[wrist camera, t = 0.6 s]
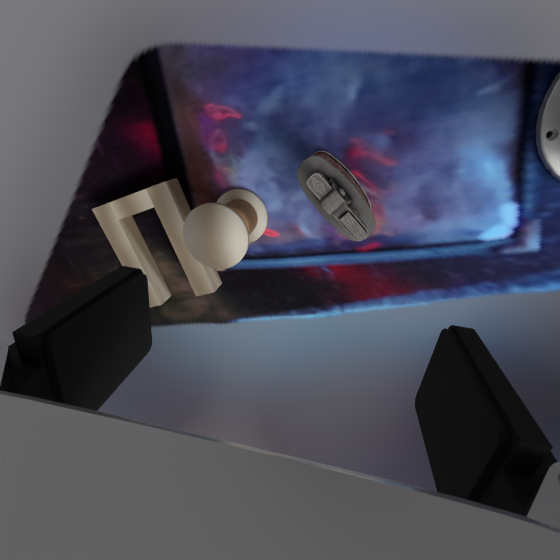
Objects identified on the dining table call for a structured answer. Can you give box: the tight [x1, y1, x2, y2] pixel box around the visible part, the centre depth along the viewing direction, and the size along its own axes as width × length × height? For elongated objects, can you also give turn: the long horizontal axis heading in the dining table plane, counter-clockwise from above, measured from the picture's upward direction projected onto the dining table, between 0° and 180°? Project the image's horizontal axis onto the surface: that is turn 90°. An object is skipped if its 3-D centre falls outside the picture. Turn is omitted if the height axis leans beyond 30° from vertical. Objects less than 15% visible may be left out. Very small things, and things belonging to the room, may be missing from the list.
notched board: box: [92, 178, 222, 307], centre depth 38 cm, size 10×13×2 cm
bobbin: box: [183, 189, 268, 269], centre depth 32 cm, size 6×6×8 cm
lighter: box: [297, 150, 376, 241], centre depth 28 cm, size 8×3×10 cm, turn 44°
